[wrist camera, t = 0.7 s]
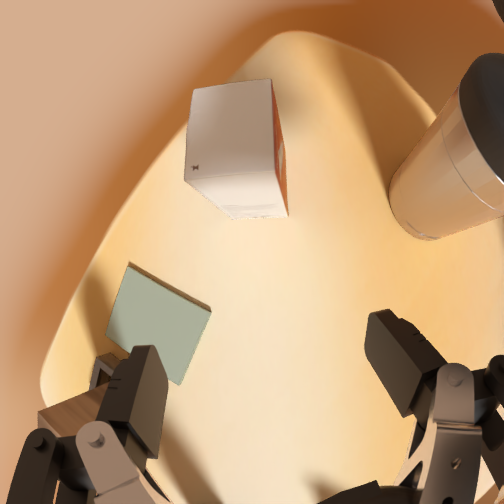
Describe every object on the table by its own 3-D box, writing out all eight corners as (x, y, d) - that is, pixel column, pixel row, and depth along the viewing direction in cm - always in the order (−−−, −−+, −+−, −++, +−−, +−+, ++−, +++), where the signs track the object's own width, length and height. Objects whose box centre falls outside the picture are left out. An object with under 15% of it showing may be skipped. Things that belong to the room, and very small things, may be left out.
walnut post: (119, 376, 31) (37, 411, 17) (145, 395, 31) (67, 442, 16) (113, 399, 31) (38, 437, 17) (137, 418, 30) (66, 466, 16)
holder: (110, 352, 32) (96, 357, 29) (166, 392, 30) (155, 400, 27) (97, 401, 32) (85, 407, 29) (148, 439, 30) (137, 448, 27)
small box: (289, 218, 29) (276, 173, 17) (231, 220, 30) (180, 182, 18) (286, 149, 30) (272, 76, 17) (232, 153, 31) (190, 88, 18)
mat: (130, 266, 32) (127, 266, 32) (211, 312, 30) (209, 313, 29) (107, 334, 32) (105, 334, 32) (180, 384, 30) (178, 385, 29)
